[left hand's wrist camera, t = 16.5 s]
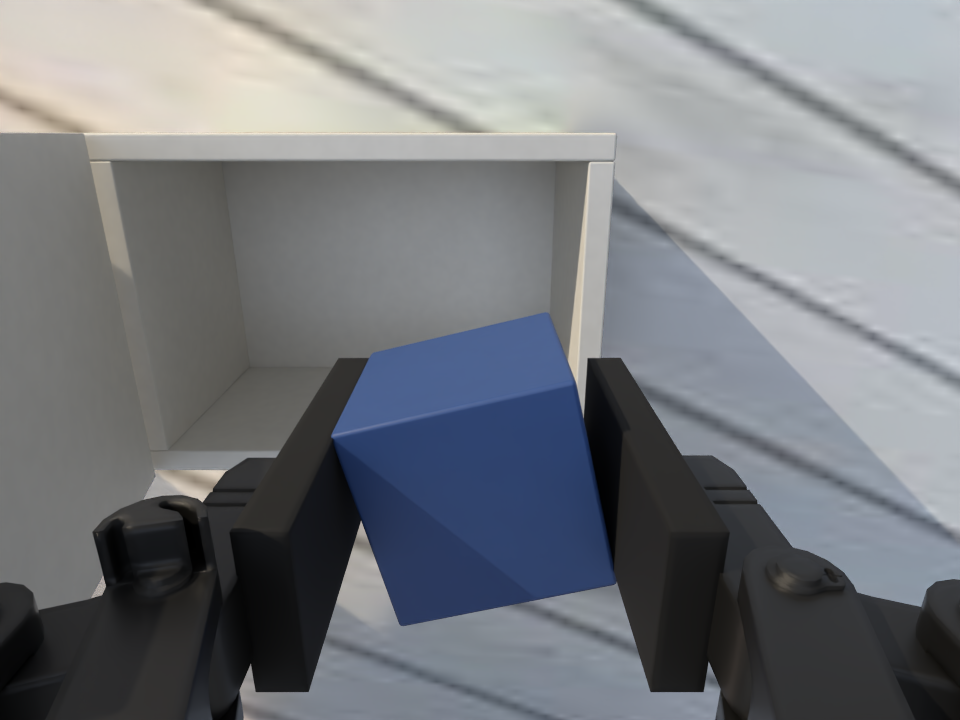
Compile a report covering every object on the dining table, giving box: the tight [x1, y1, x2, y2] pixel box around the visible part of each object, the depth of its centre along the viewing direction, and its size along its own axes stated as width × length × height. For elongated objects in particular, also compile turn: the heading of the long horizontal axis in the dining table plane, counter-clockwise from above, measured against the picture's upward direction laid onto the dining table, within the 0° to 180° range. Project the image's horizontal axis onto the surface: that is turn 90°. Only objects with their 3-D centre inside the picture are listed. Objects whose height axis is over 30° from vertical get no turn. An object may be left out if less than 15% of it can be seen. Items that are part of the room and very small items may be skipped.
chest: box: [84, 133, 617, 470], centre depth 26 cm, size 17×12×10 cm
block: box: [331, 312, 617, 626], centre depth 13 cm, size 4×4×4 cm
